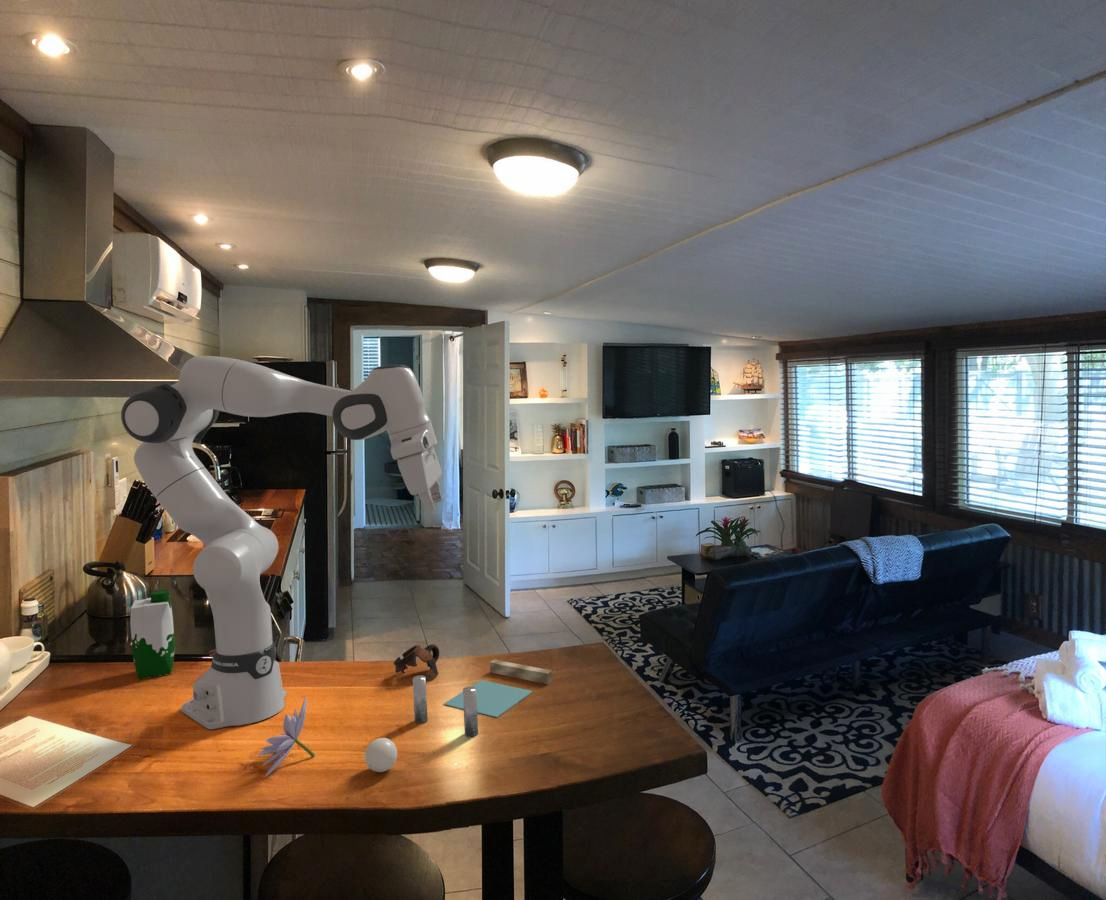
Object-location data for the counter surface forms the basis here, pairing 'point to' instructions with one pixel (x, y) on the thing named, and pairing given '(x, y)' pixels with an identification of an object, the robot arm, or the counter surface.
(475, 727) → the post
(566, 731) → the counter surface
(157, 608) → the milk carton
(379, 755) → the ball
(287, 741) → the water lily
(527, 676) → the stopper strip
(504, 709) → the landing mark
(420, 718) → the post
